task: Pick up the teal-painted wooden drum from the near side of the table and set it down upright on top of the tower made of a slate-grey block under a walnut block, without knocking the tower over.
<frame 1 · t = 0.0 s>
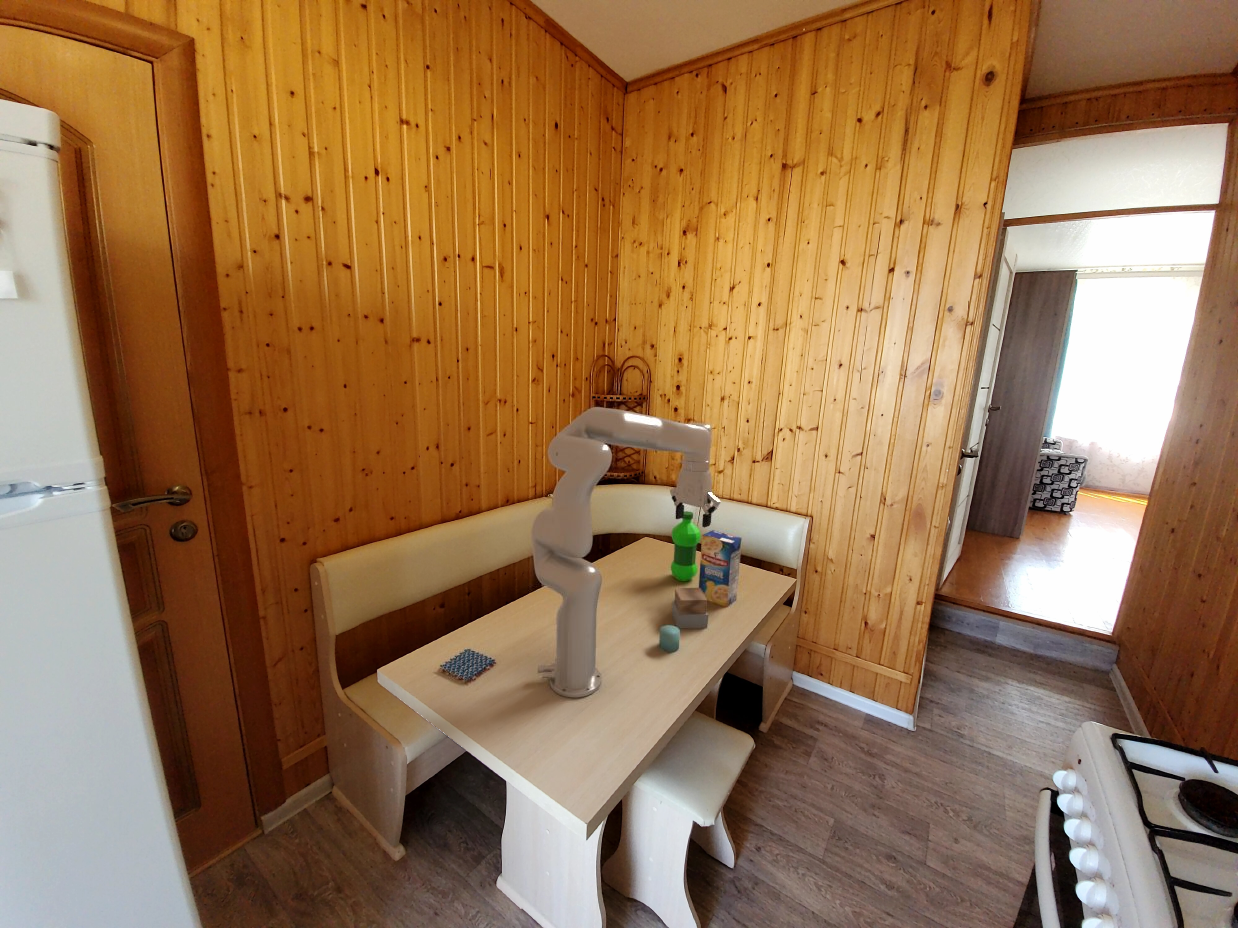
hand: (692, 522, 146), 31 cm above the table, tool pointing down, fingers open, 9 cm apart
plastic bottle: (683, 578, 182), on the table
tower base: (689, 620, 152), on the table, touching tower top
tower top: (690, 607, 151), point 4 cm above the table, touching tower base
beverage box: (717, 598, 167), on the table
drum: (669, 646, 137), on the table
woven mat: (468, 670, 125), on the table
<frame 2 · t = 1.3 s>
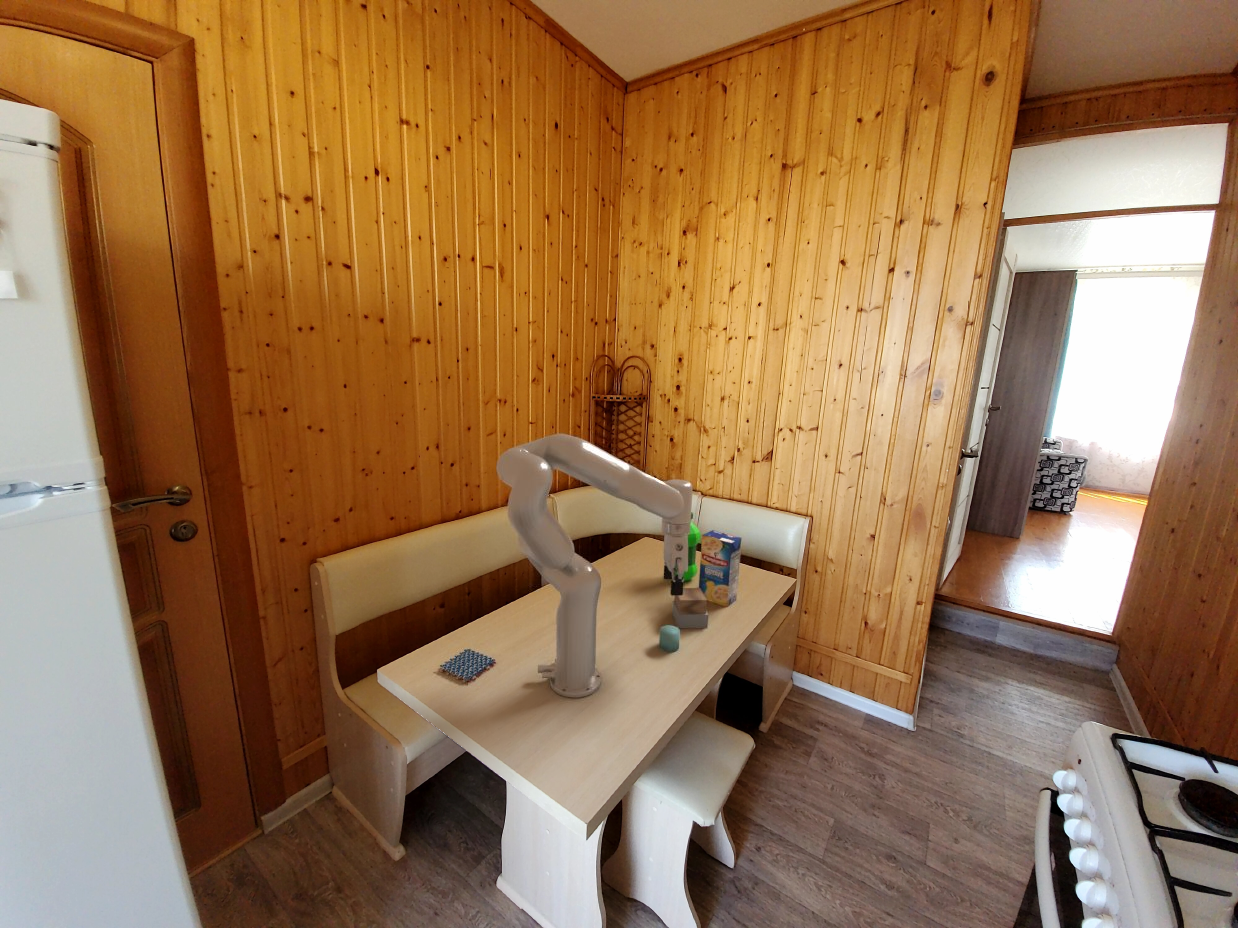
hand: (672, 586, 134), 18 cm above the table, tool pointing down, fingers open, 9 cm apart
nothing on the table moved.
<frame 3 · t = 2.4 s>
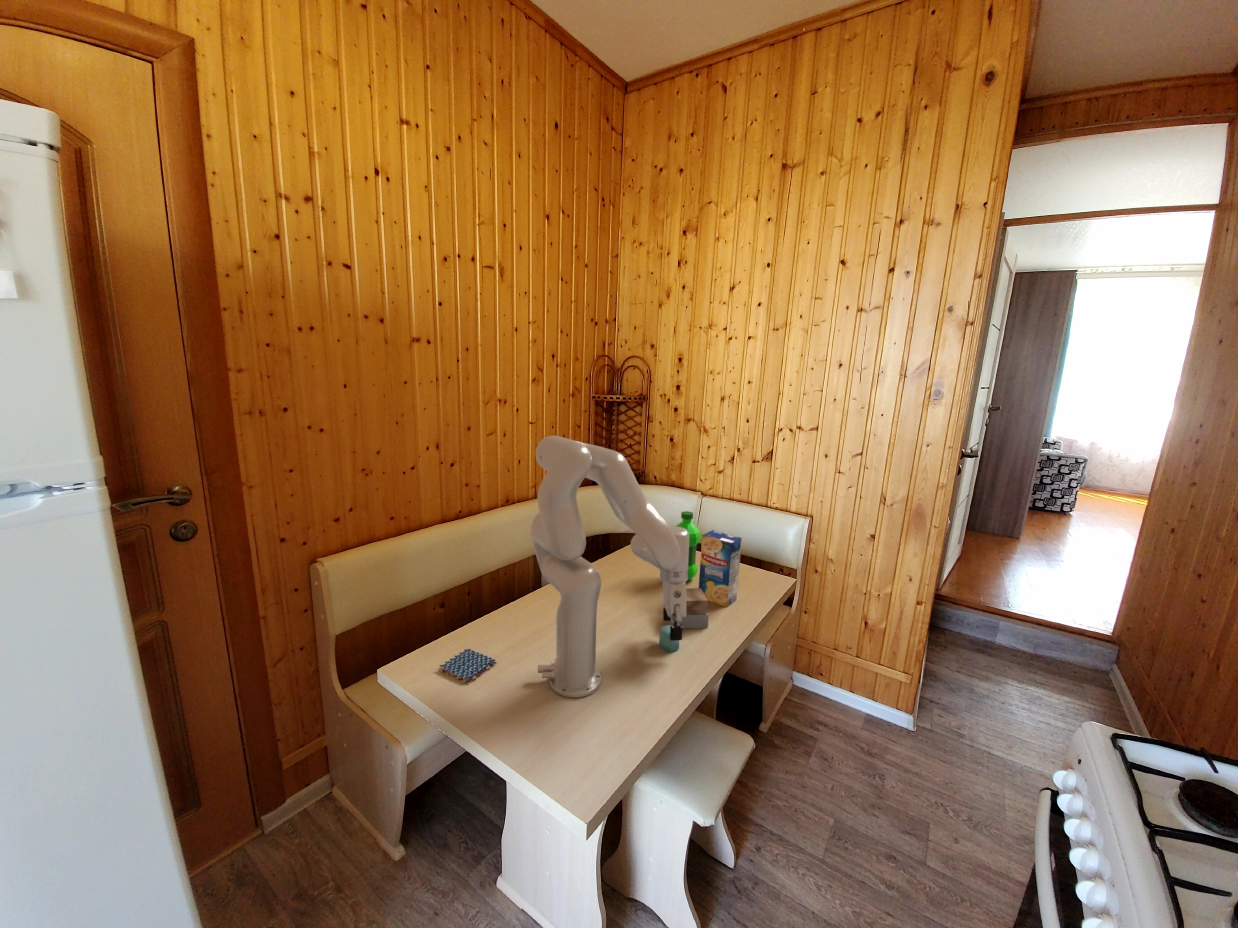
hand: (672, 629, 137), 5 cm above the table, tool pointing down, fingers open, 9 cm apart
nothing on the table moved.
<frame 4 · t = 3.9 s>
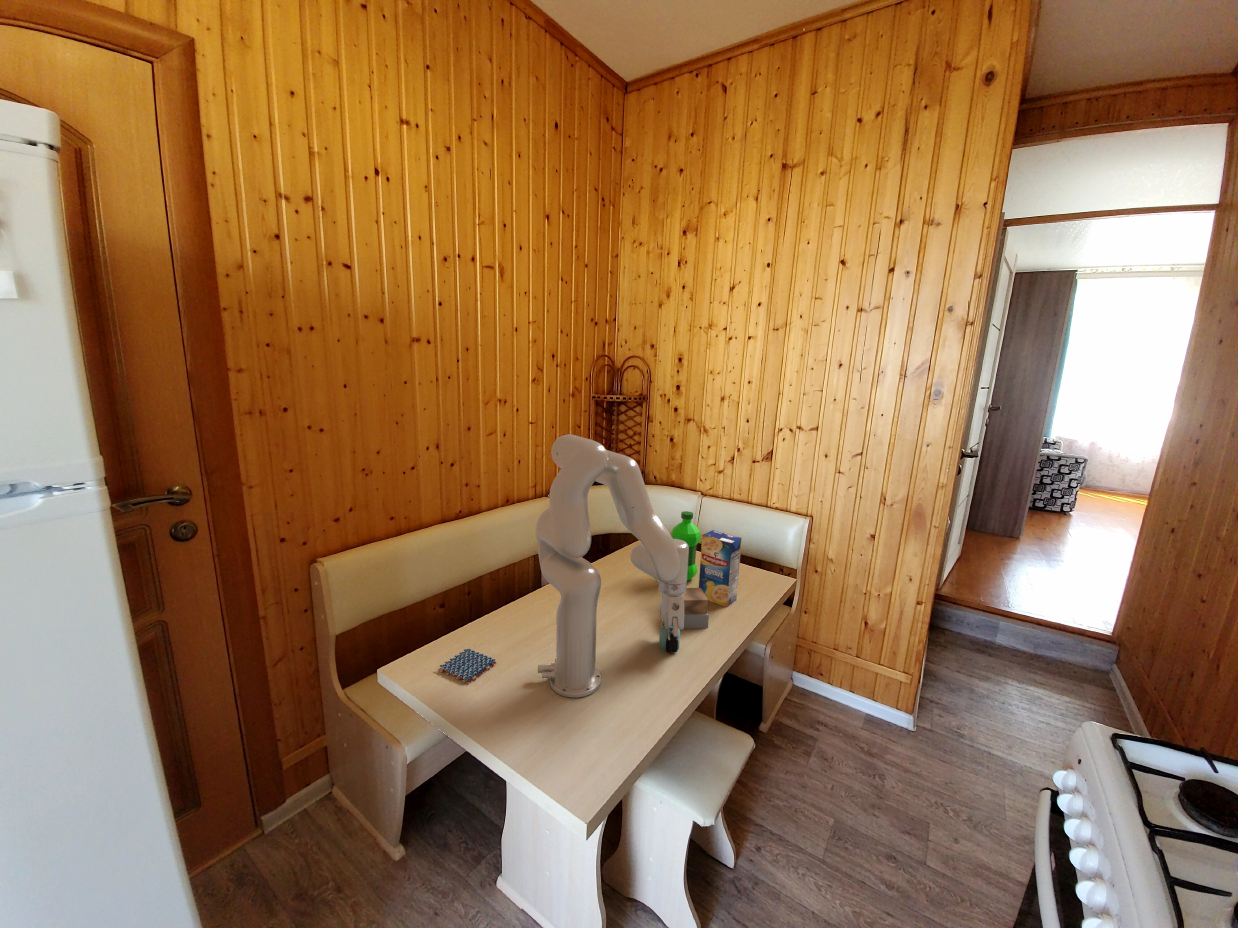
hand: (669, 644, 137), 1 cm above the table, tool pointing down, fingers closed on drum, 5 cm apart
drum: (669, 646, 137), on the table, touching gripper
everything else where it was.
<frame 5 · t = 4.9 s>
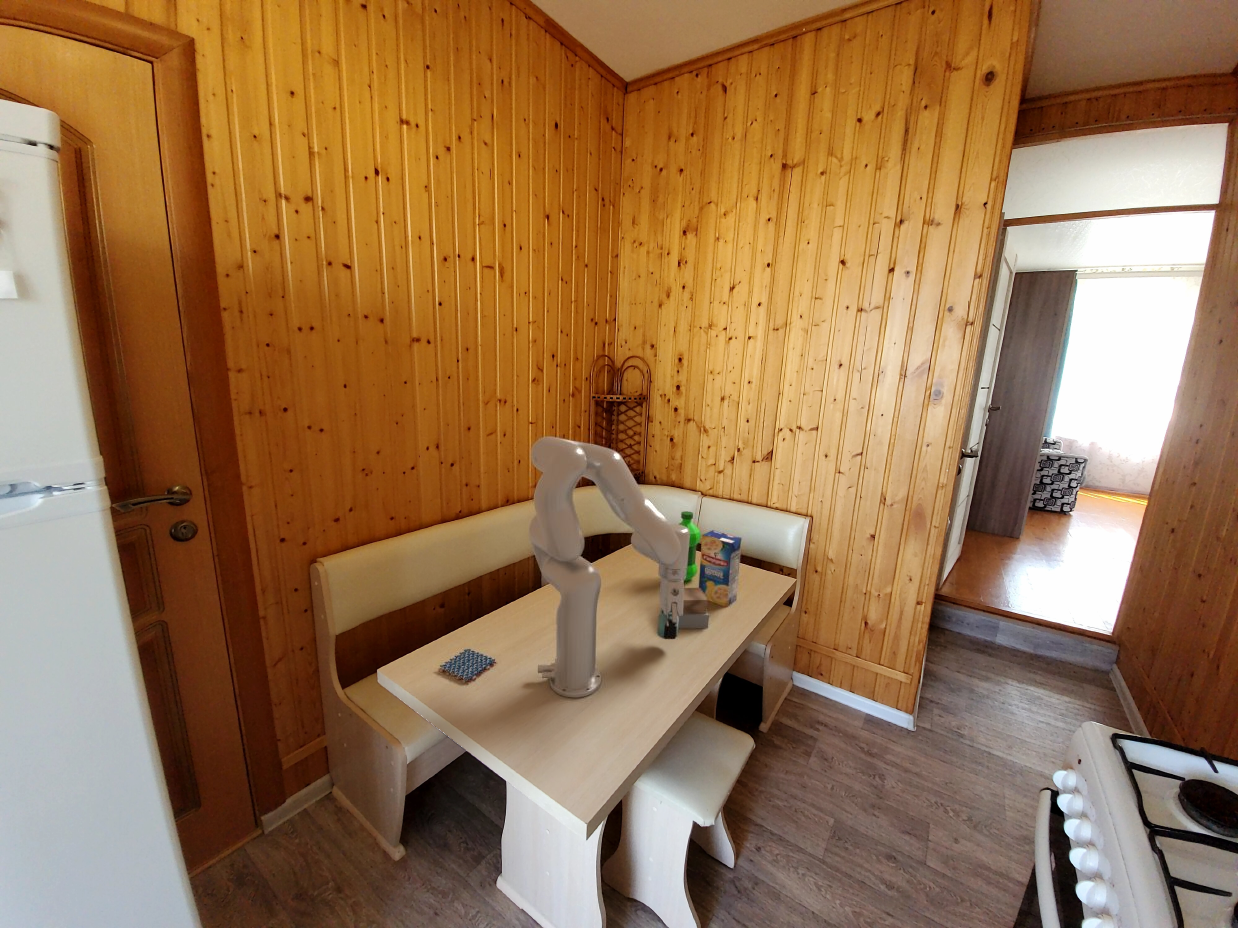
hand: (667, 631, 136), 5 cm above the table, tool pointing down, fingers closed on drum, 5 cm apart
tower base: (689, 621, 152), on the table
tower top: (690, 607, 151), point 4 cm above the table
drum: (667, 633, 136), point 4 cm above the table, touching gripper
everything else where it was.
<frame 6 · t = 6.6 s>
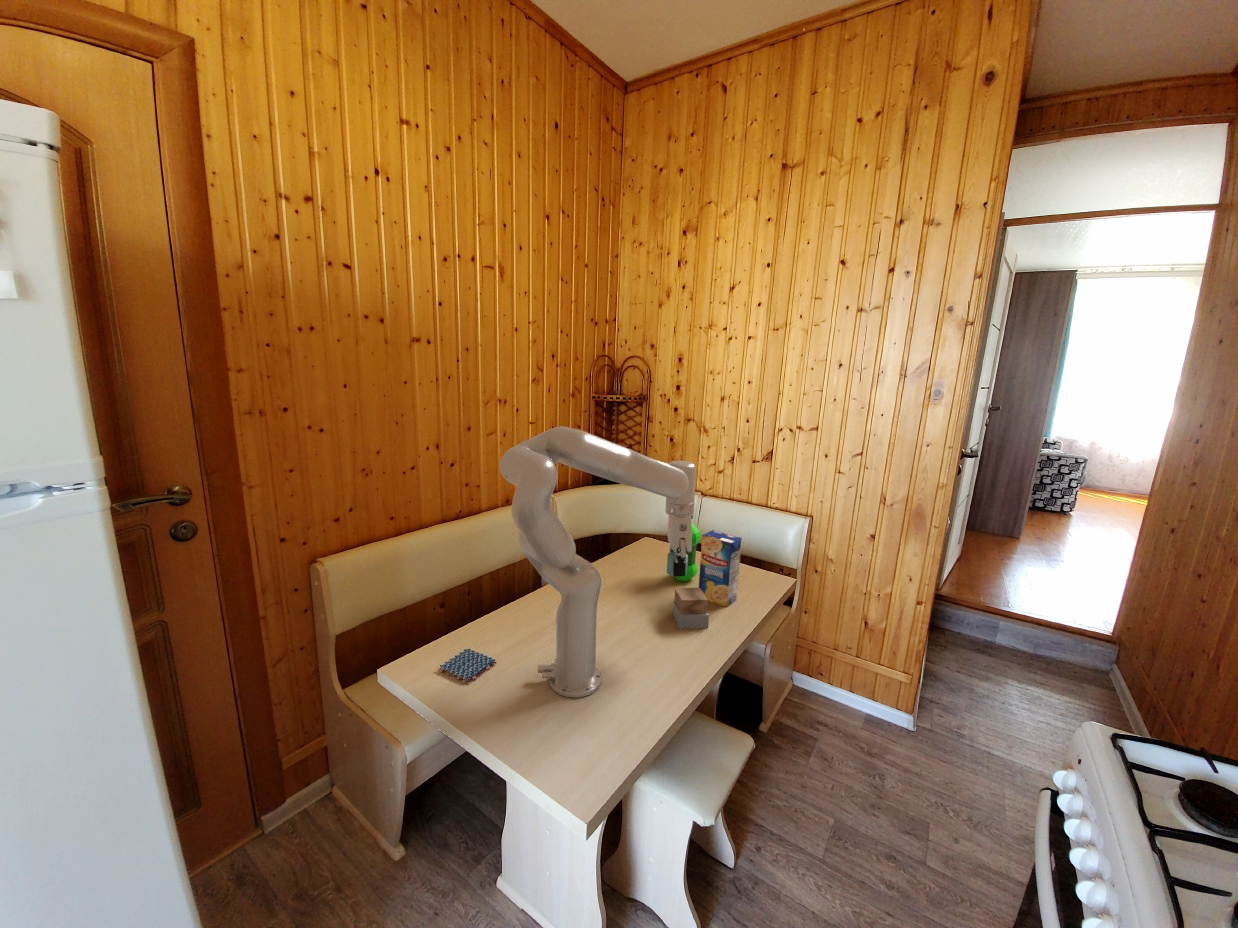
hand: (676, 570, 135), 22 cm above the table, tool pointing down, fingers closed on drum, 5 cm apart
drum: (676, 572, 135), point 21 cm above the table, touching gripper
everything else where it was.
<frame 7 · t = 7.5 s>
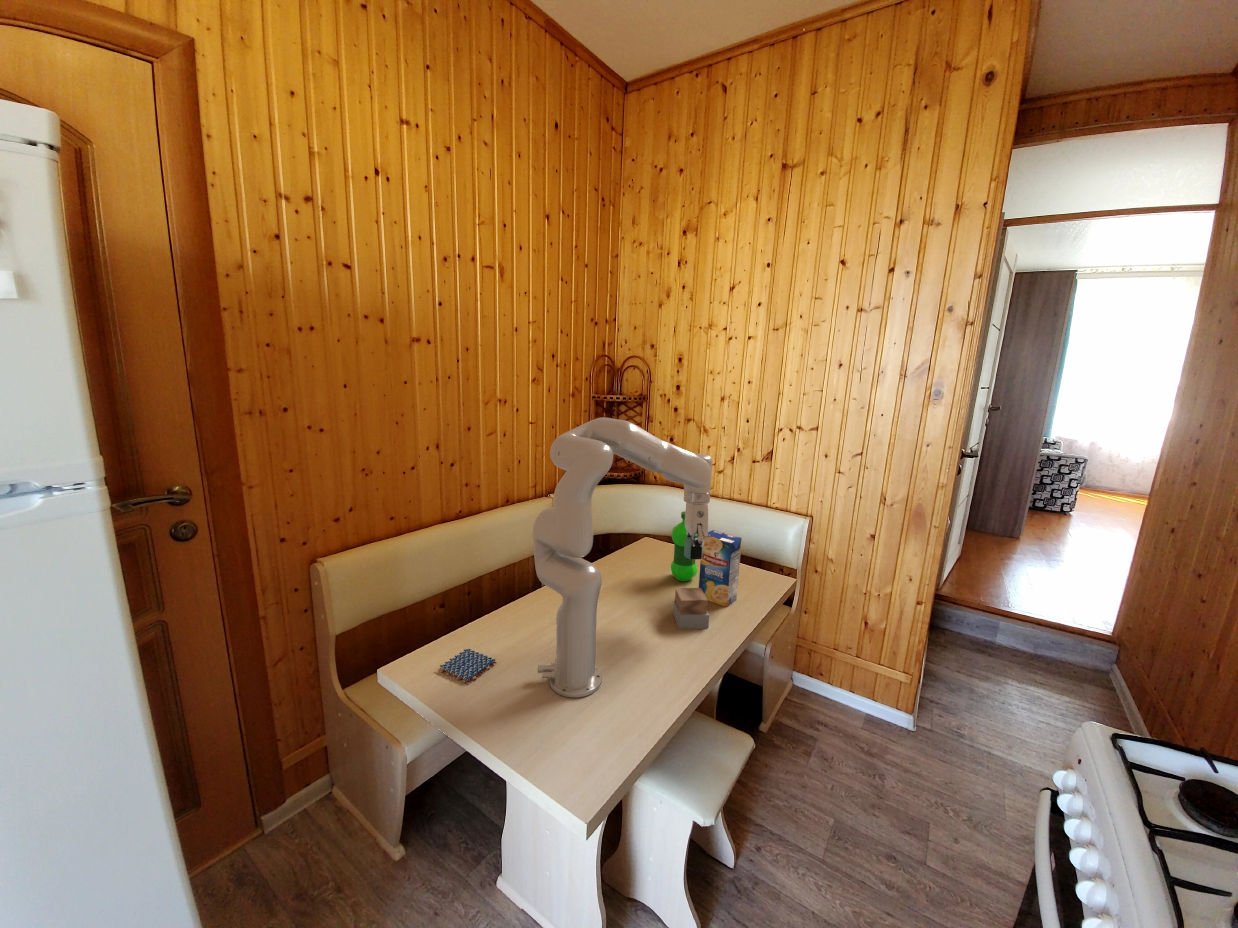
hand: (693, 554, 147), 22 cm above the table, tool pointing down, fingers closed on drum, 5 cm apart
tower base: (690, 621, 152), on the table, touching tower top
tower top: (690, 607, 151), point 4 cm above the table, touching tower base
drum: (693, 555, 147), point 21 cm above the table, touching gripper
everything else where it was.
when the fingers open (11 cm above the table, at t = 10.8 s): drum drops 2 cm, resting on tower top.
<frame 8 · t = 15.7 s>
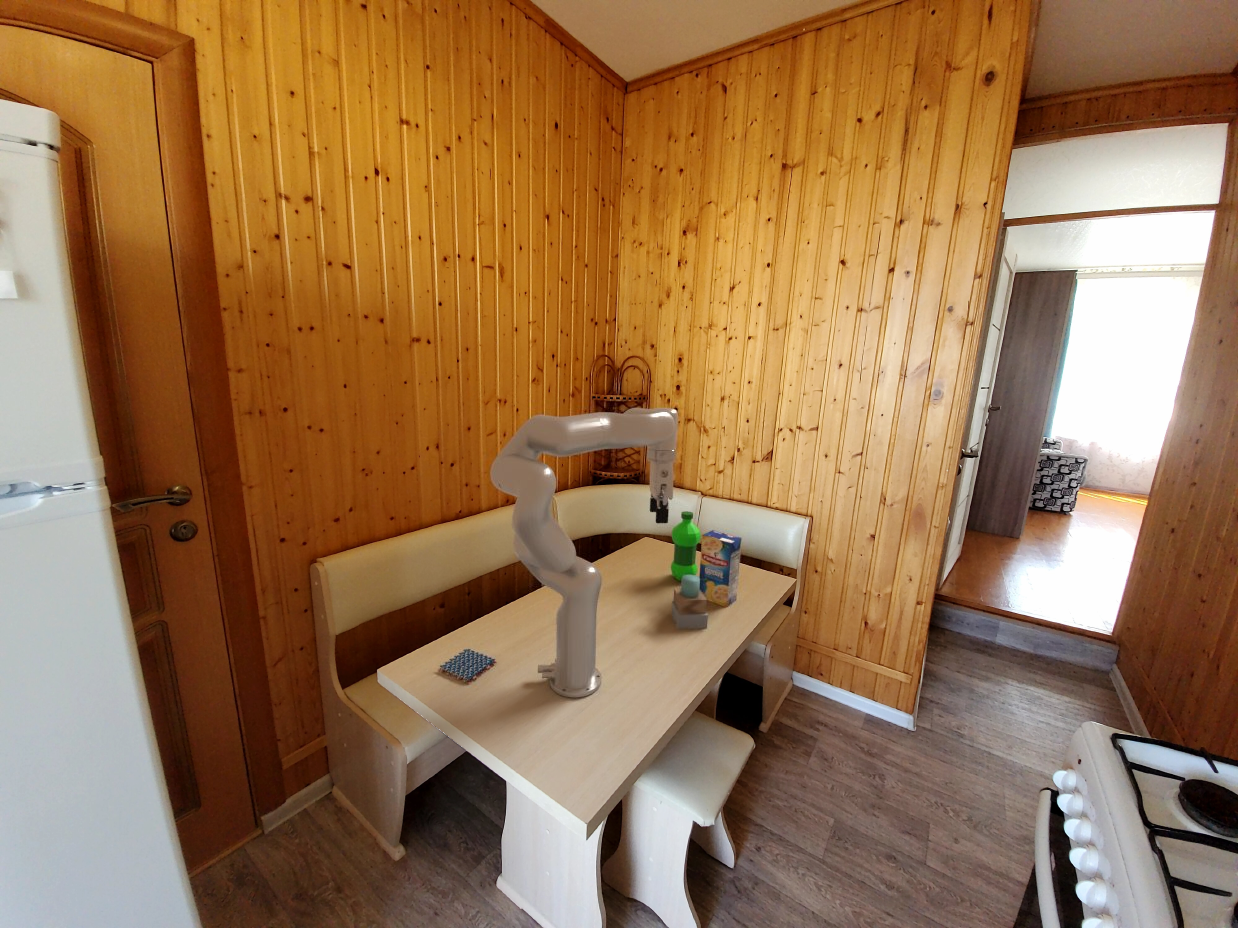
hand: (658, 517, 133), 36 cm above the table, tool pointing down, fingers open, 9 cm apart
tower base: (688, 621, 152), on the table
tower top: (689, 607, 151), point 4 cm above the table, touching drum
drum: (689, 593, 150), point 9 cm above the table, touching tower top
everything else where it was.
at the end: drum 0.1 cm off-centre on the tower top, point 4.5 cm above the tower top's base; tower top 0.4 cm off-centre on the tower base, point 4.5 cm above the tower base's base; drum tilted 0° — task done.
